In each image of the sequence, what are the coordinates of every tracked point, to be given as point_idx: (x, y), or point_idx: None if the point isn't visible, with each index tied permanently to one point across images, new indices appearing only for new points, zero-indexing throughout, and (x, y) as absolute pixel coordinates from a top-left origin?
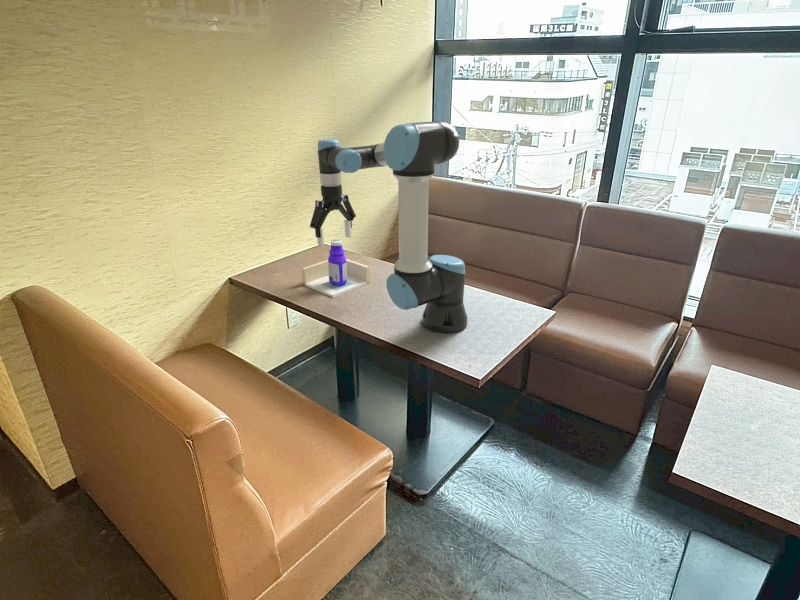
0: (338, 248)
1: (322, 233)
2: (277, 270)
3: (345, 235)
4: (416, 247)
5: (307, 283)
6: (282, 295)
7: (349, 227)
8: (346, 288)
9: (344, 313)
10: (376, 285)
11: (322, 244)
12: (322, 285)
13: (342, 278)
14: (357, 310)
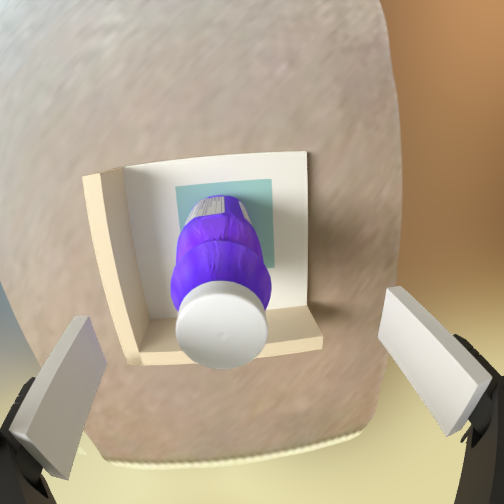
0: (233, 272)
1: (455, 351)
2: (283, 422)
3: (103, 367)
4: None
5: (301, 303)
6: (390, 284)
7: (51, 380)
8: (227, 165)
9: (349, 39)
10: (107, 132)
11: (407, 293)
12: (276, 255)
13: (225, 198)
14: (306, 21)
